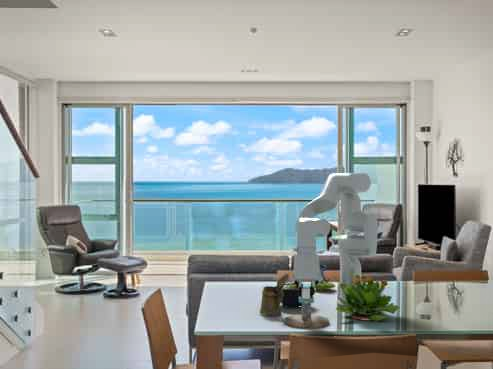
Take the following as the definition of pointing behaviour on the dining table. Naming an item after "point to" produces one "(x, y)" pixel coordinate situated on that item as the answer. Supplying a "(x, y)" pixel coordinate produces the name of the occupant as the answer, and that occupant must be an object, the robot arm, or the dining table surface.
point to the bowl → (290, 295)
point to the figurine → (323, 284)
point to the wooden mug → (273, 297)
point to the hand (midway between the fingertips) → (306, 296)
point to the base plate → (303, 323)
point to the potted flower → (366, 299)
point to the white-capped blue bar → (306, 295)
